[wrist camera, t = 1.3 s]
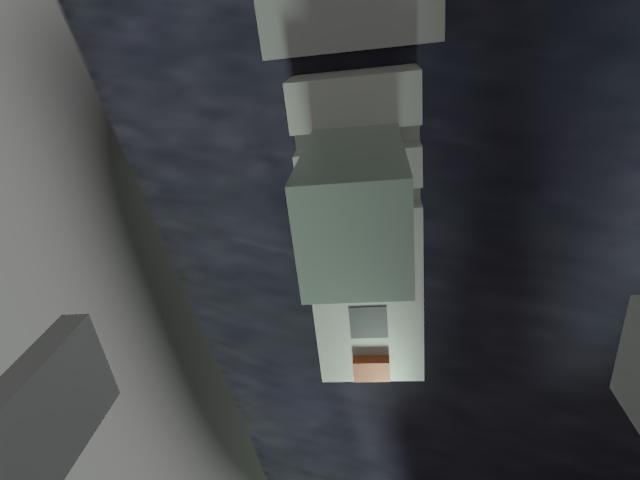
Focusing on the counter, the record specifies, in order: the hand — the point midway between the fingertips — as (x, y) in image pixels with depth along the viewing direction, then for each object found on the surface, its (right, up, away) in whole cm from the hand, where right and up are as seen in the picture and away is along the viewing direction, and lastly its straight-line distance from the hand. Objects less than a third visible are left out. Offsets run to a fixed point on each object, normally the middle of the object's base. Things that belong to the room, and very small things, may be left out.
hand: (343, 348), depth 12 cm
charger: (+2, +7, +15) cm, 17 cm away
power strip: (+2, +4, +19) cm, 19 cm away
